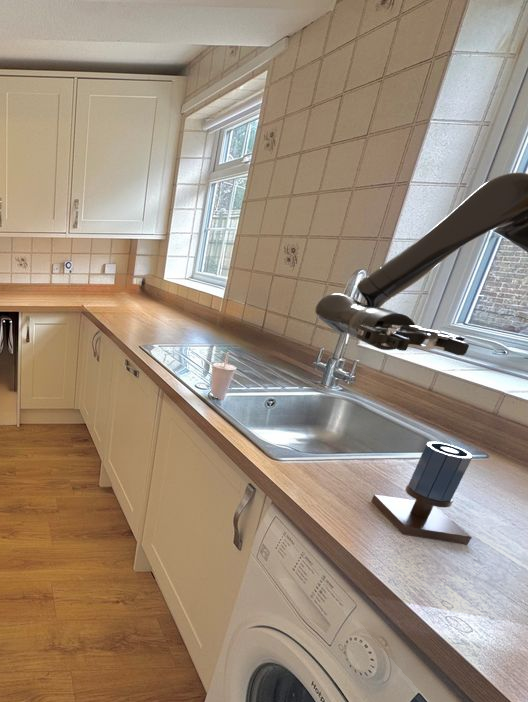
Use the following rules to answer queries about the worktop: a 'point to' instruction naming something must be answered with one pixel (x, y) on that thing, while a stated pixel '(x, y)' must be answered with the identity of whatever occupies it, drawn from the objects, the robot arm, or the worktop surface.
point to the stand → (422, 514)
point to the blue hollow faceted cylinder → (439, 472)
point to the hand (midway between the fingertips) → (435, 347)
